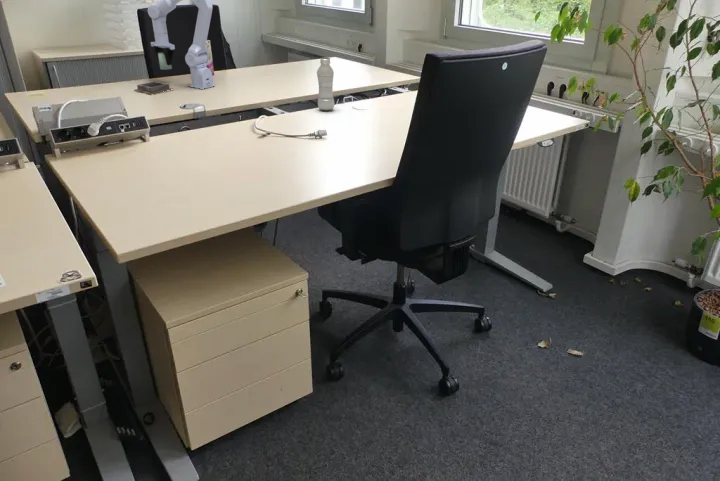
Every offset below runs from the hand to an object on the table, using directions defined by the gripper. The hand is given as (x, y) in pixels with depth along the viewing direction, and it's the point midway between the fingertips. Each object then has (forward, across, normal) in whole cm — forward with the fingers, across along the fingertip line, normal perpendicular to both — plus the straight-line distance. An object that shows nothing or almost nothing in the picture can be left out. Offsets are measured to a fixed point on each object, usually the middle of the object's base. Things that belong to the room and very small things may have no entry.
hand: (165, 64), depth 253 cm
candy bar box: (+9, +4, +20) cm, 22 cm away
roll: (+2, 0, 0) cm, 2 cm away
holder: (+8, +8, -14) cm, 18 cm away
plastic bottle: (+9, +89, +7) cm, 90 cm away
